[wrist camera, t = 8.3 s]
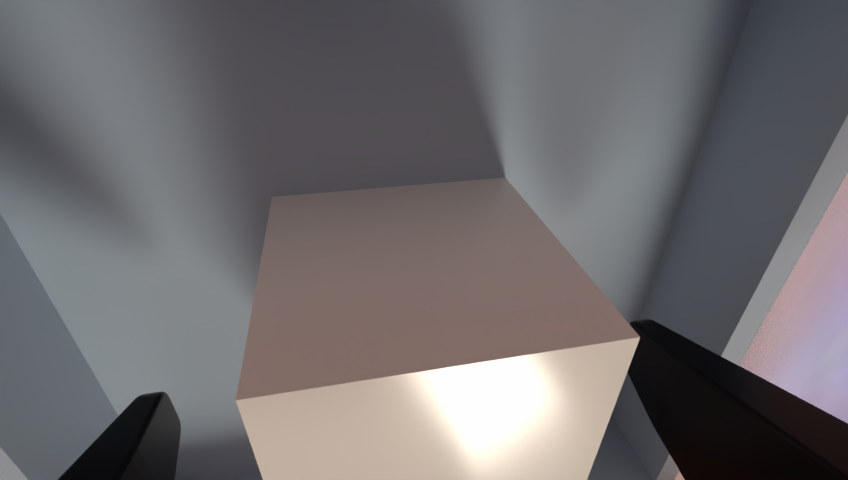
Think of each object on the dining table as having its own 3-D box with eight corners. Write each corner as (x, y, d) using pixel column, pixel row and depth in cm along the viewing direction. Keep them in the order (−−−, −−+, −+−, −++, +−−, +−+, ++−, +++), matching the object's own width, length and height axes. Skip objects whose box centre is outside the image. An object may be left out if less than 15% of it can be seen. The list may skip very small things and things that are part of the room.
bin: (607, 399, 17) (667, 491, 14) (152, 482, 14) (110, 616, 11) (781, -89, 9) (1006, -109, 6) (-203, -117, 6) (-665, -178, 3)
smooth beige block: (486, 339, 13) (569, 526, 8) (305, 366, 12) (300, 589, 8) (505, 177, 10) (640, 336, 6) (272, 196, 9) (236, 400, 5)
